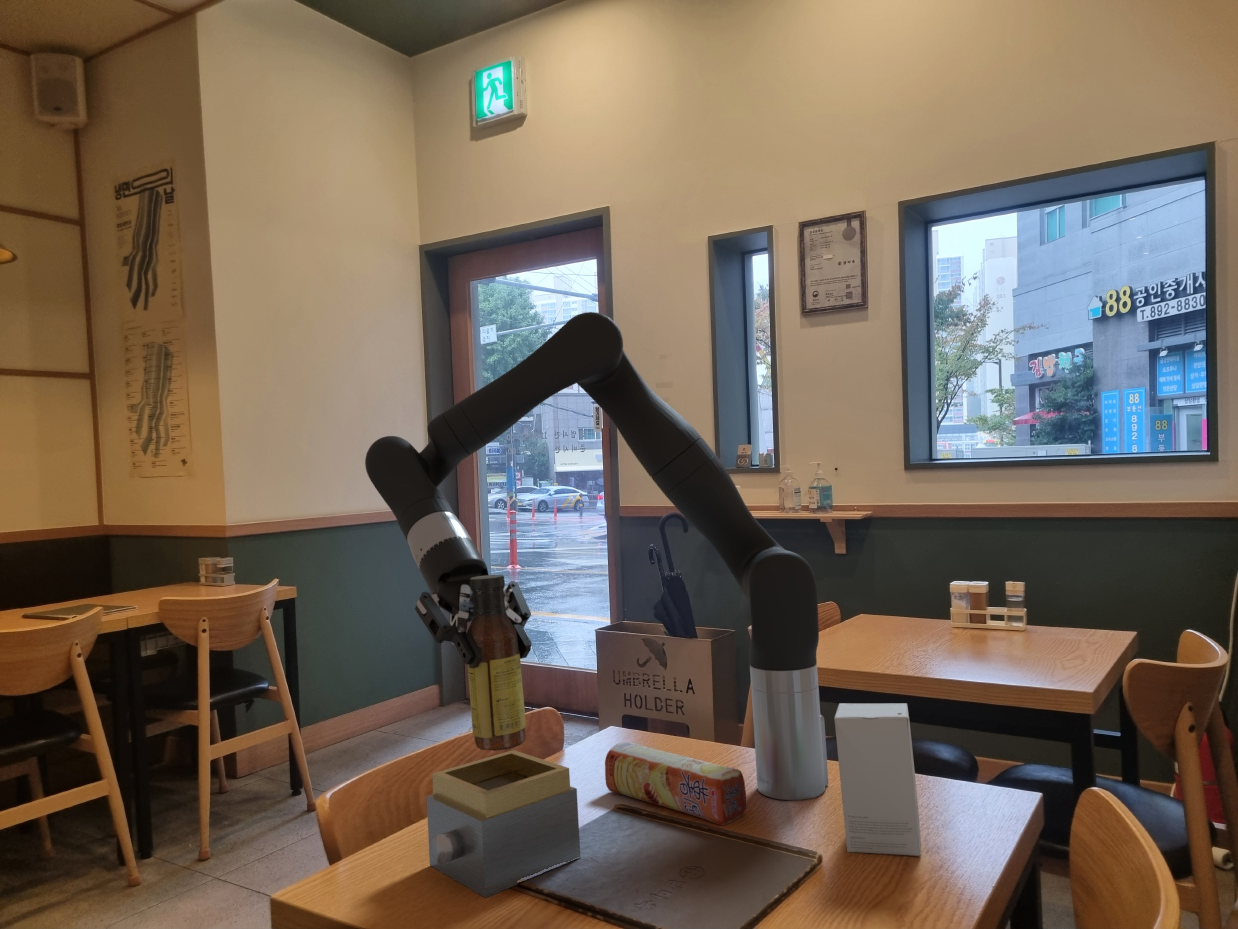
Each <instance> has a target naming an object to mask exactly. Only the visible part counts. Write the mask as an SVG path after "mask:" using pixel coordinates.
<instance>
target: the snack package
mask: <svg viewBox="0 0 1238 929" xmlns="http://www.w3.org/2000/svg"><path fill="white" fill-rule="evenodd" d="M604 774H605V775H604V777H605V778H604V779H605V785H606V788H607V789H608V790H609V792H612V793H615V794H619V795H623V796H626V797H629V798H633V799H637V800H640V801H643V802H645V803H646V802H647V803H651V804H654V805H658V806H660V807H665V808H667V809H672V810H674V811H677V812H681V813H684V814H687V815H690V816H694V817H696V818H699V819H703V820H705V821H709V822H711V823H714V824H717V825H719V826H720V825H721V826H723V825H725V826H726V825H728V824H730V823H732V822H734V821H735V820H737V819H739V818H740V817H742V815H743V814H744V813H745V811H746V809H747V792H746V784H745V778H744V775H743V773H742V771H741V770H740V769H738V768H735V767H729V766H725V765H721V764H720V765H719V764H715V763H711V762H709V761H708V762H707V761H704V760H700V759H696V758H692V757H689V756H685V755H681V754H676V753H673V752H667V751H664V750H659V749H655V748H651V747H649V746H645V745H642V744H638V743H635V742H631V741H625V742H621V743H616V744H615V745H614V746H612V747H611V748H610V749H609V751H608V752H607V754H606V756H605V760H604Z"/></svg>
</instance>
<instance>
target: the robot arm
mask: <svg viewBox="0 0 1238 929" xmlns="http://www.w3.org/2000/svg"><path fill="white" fill-rule="evenodd" d="M575 384H577V385H578V386H579V387H580V388H581V389H582V390H583V391H584V392H585V393H586V394H587V395H588V396H589V397H590V398H591V399H592V401H594V402H595V404H597V405H598V406H599V407H600V408H601V410H602V411H603V412H604V413H605V414H606V416H608V417H609V419H610V420H611V422H612V423H613V424H614V425H615V427H616V429H617V431H618V432H619V434H621V438H623V439H624V441H625V443H626V445H627V446H628V447H629V449H630V451H631V452H632V453H633V455H634V456H635V459H637V460H638V462H639V463H640V464H641V466H642V468H644V470H645V472H646V473H647V474H648V476H649V477H650V478H651V479H652V481H653V482H654V483H655V484H656V486H657V487H658V488H659V490H660V491H661V492H662V494H664V496H665V497H666V498H667V499H668V500H669V501H670V502H671V504H673V506H674V507H675V508H676V509H677V510H678V512H679V513H680V514H682V516H683V517H684V518H685V519H686V520H687V521H688V522H689V523H690V524H691V525H692V526H693V527H694V528H695V529H696V530H697V531H698V532H699V533H700V534H701V535H702V536H703V537H704V538H705V539H706V540H707V541H708V542H709V543H710V545H711V546H712V547H713V548H714V550H715V551H716V553H717V554H718V555H719V556H720V559H722V561H723V562H724V564H725V565H726V567H727V568H728V570H729V571H730V573H731V575H732V576H733V578H734V580H735V581H736V582H737V584H738V586H739V588H740V589H741V591H742V592H743V594H744V596H745V597H746V599H747V600H748V601H749V605H750V606H749V607H750V625H751V626H750V627H751V636H750V637H751V639H750V643H749V645H748V646H749V647H748V658H749V673H750V674H749V675H750V687H751V688H750V689H751V701H752V702H751V703H752V704H751V705H752V720H753V736H754V738H753V739H754V752H755V768H756V770H755V771H756V784H757V790H758V792H759V793H760V794H762V795H764V796H766V797H769V798H773V799H777V800H785V801H800V800H808V799H813V798H816V797H818V796H821V795H822V794H823V793H824V792H825V791H826V786H828V785H829V768H828V756H827V755H828V754H827V742H826V739H827V738H826V727H825V726H826V725H825V717H824V716H823V715H822V714H821V707H820V706H821V705H820V704H821V703H820V691H819V690H820V689H819V677H818V662H817V661H818V660H817V650H818V646H819V640H820V634H819V633H820V629H819V606H818V605H819V604H818V588H817V583H816V582H817V581H816V577H815V573H814V571H813V568H812V566H811V564H809V562H808V561H807V560H806V559H805V558H804V557H802V556H801V555H800V554H799V553H795V552H793V551H790V550H786V548H784V547H783V546H782V545H780V543H778V542H777V541H776V540H775V539H774V537H772V536H771V535H770V534H769V533H768V531H767V530H766V529H765V528H764V527H763V526H762V525H761V524H760V523H759V522H758V520H757V519H756V518H755V516H753V514H752V513H751V511H750V509H748V507H747V505H746V503H745V502H744V500H743V498H742V495H741V493H740V492H739V490H738V488H737V486H736V484H735V482H734V481H733V479H732V477H731V475H730V474H729V472H728V470H727V469H726V466H724V464H723V462H722V461H721V460H720V458H719V457H718V456H717V454H716V453H715V451H714V450H713V449H712V448H711V447H710V445H709V444H708V443H707V442H706V441H705V439H704V438H703V437H702V435H701V434H700V433H699V432H698V431H697V429H695V428H694V427H693V426H692V424H690V423H689V422H688V420H686V419H685V418H684V417H683V416H682V415H681V414H680V413H679V412H678V411H676V410H675V409H674V408H673V407H672V406H671V405H670V404H668V403H667V402H666V401H664V400H663V399H662V398H661V397H660V396H659V395H658V394H656V392H654V391H653V389H652V388H651V387H650V386H649V385H648V384H647V382H646V381H645V380H644V379H643V377H642V375H640V373H639V371H638V370H637V369H636V367H635V366H634V365H633V363H632V362H631V360H630V359H629V357H628V355H627V353H626V352H625V350H624V339H623V334H622V332H621V329H620V328H619V326H618V324H616V322H615V321H614V320H613V319H612V318H611V317H609V316H607V315H605V314H603V313H599V312H594V311H586V312H582V313H580V314H579V313H578V314H576V315H574V316H573V317H571V319H569V320H568V321H567V322H565V324H564V325H563V326H562V327H560V329H558V330H557V331H556V332H554V334H552V336H550V337H549V338H548V339H547V340H546V341H545V342H544V343H542V344H541V345H540V347H537V348H536V349H535V351H533V352H532V353H531V354H529V356H526V358H524V359H523V360H522V361H520V362H519V363H517V364H516V365H515V366H514V367H512V368H510V369H509V370H508V371H506V372H504V373H503V374H501V376H499V377H497V378H496V379H494V380H492V381H491V382H489V383H487V384H486V385H485V386H483V387H481V388H479V389H478V390H476V391H475V392H473V393H472V394H470V395H468V396H467V397H465V398H463V399H462V400H460V401H459V402H457V403H456V404H454V405H452V406H450V407H449V408H447V409H445V410H444V411H443V412H442V413H440V414H438V415H437V416H436V417H434V418H433V419H432V420H431V421H429V423H428V425H427V426H426V427H427V434H428V438H429V439H430V441H429V442H428V444H426V446H425V447H424V448H423V449H422V450H421V451H420V452H418V450H417V449H416V448H415V447H414V446H413V445H412V444H411V443H410V442H409V441H407V440H406V439H404V438H402V437H400V436H396V435H386V436H383V437H380V438H378V439H377V440H375V441H374V442H373V443H372V444H370V446H369V448H368V450H367V452H366V454H365V461H364V464H365V465H364V466H365V471H366V475H367V477H368V478H369V480H370V482H371V483H372V485H373V487H375V489H376V491H377V492H378V494H379V496H381V498H382V499H383V501H384V503H386V505H387V506H388V507H389V509H390V510H391V511H392V514H393V515H394V516H395V519H396V520H397V523H398V526H399V528H400V530H401V533H402V534H403V536H404V538H405V540H406V542H407V544H408V546H409V549H410V552H411V555H412V558H413V560H414V561H415V564H416V565H417V567H418V569H419V571H420V573H421V575H422V578H423V579H424V581H425V583H426V585H427V588H428V589H429V591H430V592H427V591H423V592H421V593H420V596H419V597H418V600H417V603H416V605H415V606H414V607H415V608H414V610H415V612H416V614H417V615H418V616H419V618H420V619H421V621H422V623H423V625H424V626H425V627H426V628H427V631H428V632H429V633H430V635H431V636H432V638H433V639H434V641H435V642H436V643H437V644H444V642H450V643H451V644H452V646H453V645H454V646H455V648H456V650H457V652H458V654H459V655H460V658H461V660H462V661H463V663H465V665H468V664H469V666H470V668H471V669H472V668H477V667H478V666H479V664H480V662H481V660H482V654H481V652H480V650H479V648H478V646H477V644H476V642H475V640H474V639H473V637H472V635H471V633H470V632H467V631H468V623H471V622H472V620H473V618H474V613H473V609H474V605H473V593H472V590H471V588H470V579H471V578H473V577H477V576H486V575H490V574H489V571H488V566H487V564H486V562H485V561H484V558H483V557H482V555H481V554H480V551H479V550H478V548H477V547H476V544H475V543H474V541H473V539H472V538H471V536H470V534H469V533H468V531H467V529H466V527H465V526H464V525H463V523H462V522H461V521H460V520H459V518H458V517H457V516H456V514H455V512H454V511H453V509H452V506H451V505H450V503H449V502H448V500H447V498H446V497H445V496H444V494H443V493H442V492H441V490H439V488H438V487H440V485H441V484H442V483H443V482H444V480H446V479H447V477H449V475H451V473H452V472H453V471H454V470H455V469H456V468H457V467H458V465H459V464H460V463H462V461H463V460H464V459H467V458H468V457H470V456H471V455H473V454H475V453H476V452H478V451H479V450H481V449H482V448H484V447H485V446H487V445H488V444H489V443H492V442H493V441H494V440H495V439H497V438H499V437H500V436H502V434H504V433H505V432H507V431H508V430H510V428H512V427H513V426H514V425H515V424H517V423H518V422H519V421H520V420H521V419H523V418H524V417H525V416H527V415H528V413H530V412H531V411H532V410H534V409H535V408H536V407H538V406H539V405H540V404H542V403H543V402H544V401H546V400H548V399H549V398H551V397H552V396H554V395H556V394H558V393H560V392H561V391H563V390H565V389H568V388H570V387H571V386H573V385H575ZM504 600H505V607H506V613H507V615H508V617H509V619H510V621H511V623H512V625H513V627H514V628H515V630H516V633H517V640H518V647H519V652H520V660H521V659H526V658H527V657H528V655H529V653H531V652H530V651H531V650H532V649H531V648H532V646H533V645H532V640H531V639H530V637H529V636H528V633H527V632H526V630H525V627H526V624H527V623H528V621H529V619H531V618H530V617H531V616H532V611H531V610H530V607H529V605H528V604H527V601H526V599H525V597H524V594H523V592H522V590H521V587H520V585H519V582H517V581H515V580H511V581H510V582H508V584H507V585H505V587H504ZM441 609H442V610H444V611H445V612H446V613H448V614H450V615H449V616H450V619H449V620H450V621H449V620H448V618H447V617H446V615H445V614H444V613H443V611H442V610H441Z"/></svg>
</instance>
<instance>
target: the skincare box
mask: <svg viewBox="0 0 1238 929" xmlns="http://www.w3.org/2000/svg"><path fill="white" fill-rule="evenodd" d="M908 708H909V707H908V703H904V702H903V703H897V702H896V703H893V702H891V703H886V702H885V703H848V702H847V703H845V702H844V703H841V702H839V704H838V706H837V708H836V713H835V715H834V717H833V719H834V727H835V728H834V729H835V736H836V746H837V750H836V751H837V759H838V760H837V761H838V768H839V769H838V770H839V780H840V792H841V803H842V812H843V822H844V832H845V843H846V850H847V853H862V854H863V853H864V854H879V855H880V854H881V855H895V856H896V855H898V856H899V855H900V856H910V857H911V856H913V857H914V856H915V857H920V856H921V852H922V851H921V849H922V848H921V846H922V844H921V843H922V842H921V826H920V815H919V803H918V792H917V784H916V783H917V782H916V771H915V763H914V752H913V744H912V735H911V734H912V732H911V724H910V716H909V715H910V714H909V709H908Z"/></svg>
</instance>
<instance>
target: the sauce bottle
mask: <svg viewBox="0 0 1238 929" xmlns="http://www.w3.org/2000/svg"><path fill="white" fill-rule="evenodd" d="M505 586H506V583H505V576H504V575H503V574H489V575H486V576H477V577H473V578H471V579H470V588H471V590H472V593H473V605H474V609H473V613H474V618H473V620H472V621H471V622H470V624H469V627H468V628H467V631H466V633H467V632H470V633H471V635H472V637H473V639H474V640H475V642H476V644H477V646H478V648H479V650H480V652H481V654H482V660H481V662H480V664H479V666H478V667H477V668H472V669H471V668H470V666H469V664H468V665H467V664H466V665H467V675H468V676H467V677H468V688H469V701H470V702H469V703H470V713H471V714H470V716H471V728H472V735H473V738H474V744H475V746H476V748H478V749H480V750H484V751H494V752H496V751H505V750H510V749H514V748H516V747H517V748H518V747H519V746H520V745H522V744H524V743H525V741H526V723H527V722H526V712H525V711H526V710H525V700H524V689H523V676H522V664H521V659H520V652H519V647H518V640H517V633H516V630H515V628H514V627H513V625H512V623H511V621H510V619H509V617H508V615H507V613H506V607H505V600H504V587H505Z"/></svg>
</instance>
